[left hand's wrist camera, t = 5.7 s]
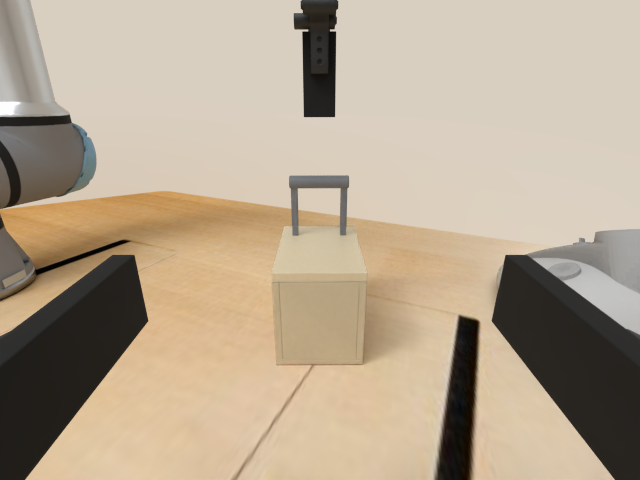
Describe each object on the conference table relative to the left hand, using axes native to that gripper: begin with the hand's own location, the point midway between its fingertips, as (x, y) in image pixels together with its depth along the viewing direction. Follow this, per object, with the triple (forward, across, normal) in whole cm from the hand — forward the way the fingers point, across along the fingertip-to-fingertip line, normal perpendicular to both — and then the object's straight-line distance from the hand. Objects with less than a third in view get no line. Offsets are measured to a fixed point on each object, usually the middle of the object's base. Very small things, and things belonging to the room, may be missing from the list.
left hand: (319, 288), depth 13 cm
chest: (+25, 0, -19) cm, 31 cm away
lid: (+25, 0, -10) cm, 27 cm away
